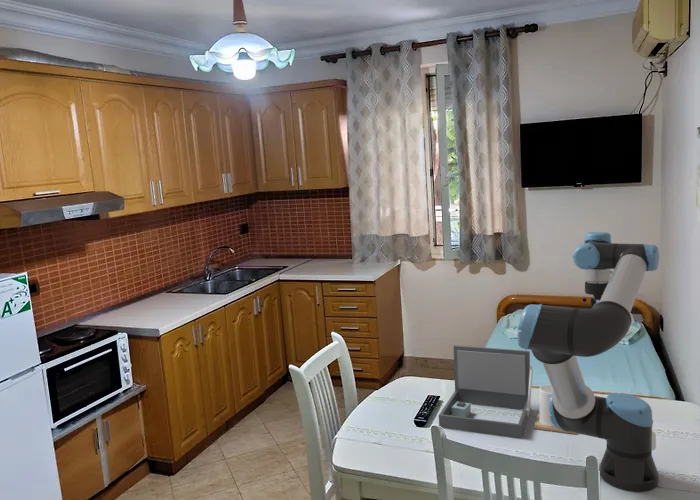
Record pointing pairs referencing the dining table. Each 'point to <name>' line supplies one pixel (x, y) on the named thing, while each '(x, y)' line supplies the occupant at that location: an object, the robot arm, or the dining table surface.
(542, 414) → the mug
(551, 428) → the mat
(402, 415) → the dining table surface
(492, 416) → the dining table surface
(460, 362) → the case
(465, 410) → the block
